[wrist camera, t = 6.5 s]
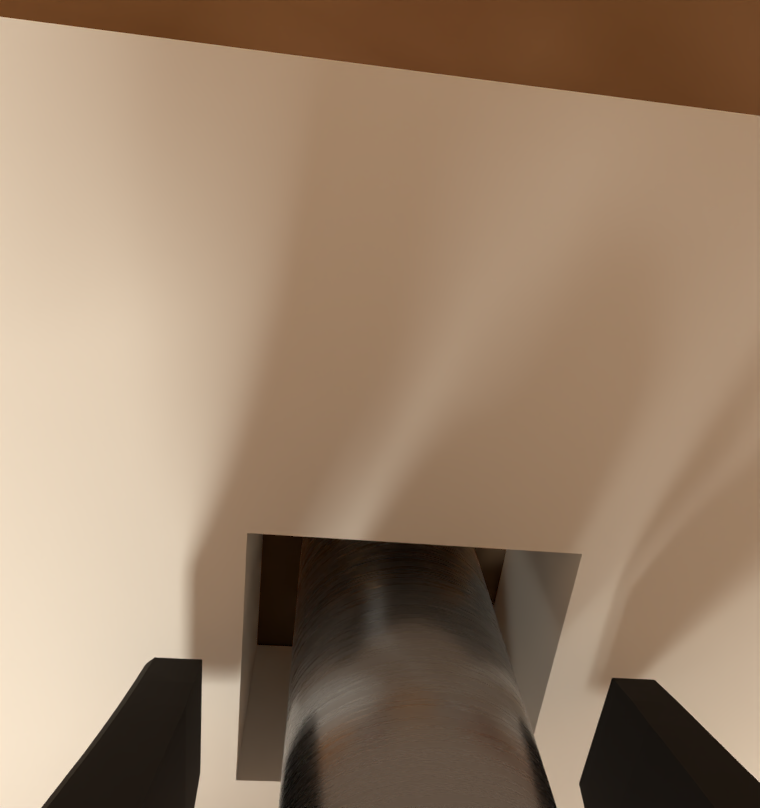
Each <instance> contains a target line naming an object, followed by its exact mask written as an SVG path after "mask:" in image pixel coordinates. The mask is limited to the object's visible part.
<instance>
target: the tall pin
mask: <svg viewBox="0 0 760 808" xmlns="http://www.w3.org/2000/svg"><path fill="white" fill-rule="evenodd" d="M279 808H557V807H556V803H555V800H554V797H553V794H552V791H551V788H550V785H549V781H548V778H547V775H546V772H545V769H544V766H543V763H542V759H541V756H540V753H539V750H538V747H537V744H536V741H535V737H534V734H533V731H532V728H531V725H530V722H529V718H528V715H527V712H526V709H525V706H524V703H523V700H522V696H521V693H520V690H519V687H518V684H517V681H516V678H515V674H514V671H513V668H512V665H511V662H510V659H509V656H508V652H507V649H506V646H505V643H504V640H503V637H502V634H501V630H500V627H499V624H498V621H497V618H496V615H495V612H494V608H493V605H492V602H491V599H490V596H489V593H488V589H487V586H486V583H485V580H484V577H483V574H482V571H481V567H480V564H479V561H478V558H477V555H476V552H475V549H474V547H463V546H447V545H431V544H415V543H399V542H383V541H367V540H351V539H335V538H319V537H303V540H302V546H301V557H300V569H299V580H298V591H297V603H296V614H295V626H294V637H293V648H292V660H291V671H290V683H289V694H288V706H287V717H286V728H285V740H284V751H283V763H282V774H281V785H280V797H279Z"/></svg>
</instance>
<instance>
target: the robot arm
mask: <svg viewBox="0 0 760 808" xmlns="http://www.w3.org/2000/svg"><path fill="white" fill-rule="evenodd" d="M201 706H202V659H179V658H157V657H154V658H153V659H152V660H150V661H149V662H148V663H146V664H145V666H144V667H143V669H142V670H141V672H140V674H139V675H138V677H137V678H136V680H135V681H134V683H133V685H132V686H131V687H130V689H129V690H128V692H127V693H126V695H125V696H124V698H123V699H122V701H121V702H120V704H119V705H118V707H117V708H116V710H115V711H114V712H113V714H112V715H111V717H110V718H109V719H108V721H107V722H106V724H105V725H104V726H103V728H102V729H101V730H100V732H99V733H98V735H97V736H96V737H95V739H94V740H93V741H92V743H91V744H90V745H89V747H88V748H87V750H86V751H85V752H84V753H83V755H82V756H81V757H80V759H79V760H78V761H77V762H76V764H75V765H74V766H73V768H72V769H71V770H70V771H69V773H68V774H67V775H66V777H65V778H64V779H63V780H62V782H61V783H60V784H59V786H58V787H57V788H56V789H55V791H54V792H53V793H52V794H51V796H50V797H49V798H48V800H47V801H46V802H45V803H44V805H43V806H42V807H41V808H194V807H195V801H196V795H197V790H198V784H199V778H200V766H201ZM579 786H580V791H581V795H582V799H583V804H584V808H760V782H759V781H758V780H757V779H756V778H755V777H754V776H753V775H752V774H750V773H749V772H748V771H747V770H746V769H745V768H744V767H743V766H742V765H741V764H740V763H739V762H738V761H737V760H736V759H735V758H734V757H733V756H732V755H731V754H730V753H729V752H728V751H727V750H726V749H725V748H724V747H723V746H722V745H721V744H720V743H719V742H718V741H717V740H716V739H715V738H714V737H713V736H712V735H711V734H710V733H709V732H708V731H707V730H706V729H705V728H704V727H703V726H702V725H701V724H700V723H699V722H698V721H697V720H696V719H695V718H694V717H693V716H692V715H691V714H690V713H689V712H688V711H687V710H686V709H685V708H684V707H683V706H682V705H681V704H680V703H679V702H678V701H677V700H676V699H674V698H673V697H672V696H671V695H670V694H669V693H668V692H667V691H666V690H665V689H664V688H663V687H662V686H661V685H660V684H659V683H658V682H656V681H655V680H651V679H629V678H612V680H611V683H610V686H609V689H608V692H607V696H606V699H605V702H604V705H603V708H602V712H601V715H600V718H599V721H598V724H597V727H596V731H595V734H594V737H593V740H592V743H591V747H590V750H589V753H588V756H587V759H586V763H585V766H584V769H583V772H582V775H581V778H580V782H579Z"/></svg>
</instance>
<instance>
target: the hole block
mask: <svg viewBox="0 0 760 808" xmlns="http://www.w3.org/2000/svg"><path fill="white" fill-rule="evenodd" d="M263 534H271V535H287V536H303V537H319V538H335V539H351V540H367V541H383V542H399V543H415V544H431V545H447V546H463V547H479V548H495V549H506V553H505V558H504V562H503V567H502V572H501V576H500V581H499V585H498V590H497V595H496V599H495V604H494V612H495V615H496V618H497V621H498V624H499V627H500V630H501V634H502V637H503V640H504V643H505V646H506V649H507V652H508V656H509V659H510V662H511V665H512V668H513V671H514V674H515V678H516V681H517V684H518V687H519V690H520V693H521V696H522V700H523V703H524V706H525V709H526V712H527V715H528V718H529V722H530V725H531V728H532V731H533V734H534V737H535V741H536V744H537V747H538V750H539V753H540V756H541V759H542V763H543V766H544V769H545V772H546V775H547V778H548V781H549V785H550V788H551V791H552V794H553V797H554V800H555V803H556V807H557V808H584V804H583V799H582V795H581V791H580V786H579V782H580V778H581V775H582V772H583V769H584V766H585V763H586V759H587V756H588V753H589V750H590V747H591V743H592V740H593V737H594V734H595V731H596V727H597V724H598V721H599V718H600V715H601V712H602V708H603V705H604V702H605V699H606V696H607V692H608V689H609V686H610V683H611V680H612V678H629V679H651V680H655V681H656V682H658V683H659V684H660V685H661V686H662V687H663V688H664V689H665V690H666V691H667V692H668V693H669V694H670V695H671V696H672V697H673V698H674V699H676V700H677V701H678V702H679V703H680V704H681V705H682V706H683V707H684V708H685V709H686V710H687V711H688V712H689V713H690V714H691V715H692V716H693V717H694V718H695V719H696V720H697V721H698V722H699V723H700V724H701V725H702V726H703V727H704V728H705V729H706V730H707V731H708V732H709V733H710V734H711V735H712V736H713V737H714V738H715V739H716V740H717V741H718V742H719V743H720V744H721V745H722V746H723V747H724V748H725V749H726V750H727V751H728V752H729V753H730V754H731V755H732V756H733V757H734V758H735V759H736V760H737V761H738V762H739V763H740V764H741V765H742V766H743V767H744V768H745V769H746V770H747V771H748V772H749V773H750V774H752V775H753V776H754V777H755V778H756V779H757V780H758V781H759V782H760V116H758V115H750V114H743V113H735V112H727V111H720V110H712V109H704V108H697V107H689V106H681V105H674V104H666V103H658V102H651V101H643V100H635V99H628V98H620V97H612V96H605V95H597V94H589V93H582V92H574V91H566V90H559V89H551V88H543V87H536V86H528V85H520V84H513V83H505V82H497V81H490V80H482V79H474V78H467V77H459V76H451V75H444V74H436V73H428V72H420V71H413V70H405V69H397V68H390V67H382V66H374V65H367V64H359V63H351V62H344V61H336V60H328V59H321V58H313V57H305V56H298V55H290V54H282V53H275V52H267V51H259V50H252V49H244V48H236V47H229V46H221V45H213V44H206V43H198V42H190V41H183V40H175V39H167V38H160V37H152V36H144V35H137V34H129V33H121V32H114V31H106V30H98V29H91V28H83V27H75V26H68V25H60V24H52V23H45V22H37V21H29V20H22V19H14V18H6V17H0V808H41V807H42V806H43V805H44V803H45V802H46V801H47V800H48V798H49V797H50V796H51V794H52V793H53V792H54V791H55V789H56V788H57V787H58V786H59V784H60V783H61V782H62V780H63V779H64V778H65V777H66V775H67V774H68V773H69V771H70V770H71V769H72V768H73V766H74V765H75V764H76V762H77V761H78V760H79V759H80V757H81V756H82V755H83V753H84V752H85V751H86V750H87V748H88V747H89V745H90V744H91V743H92V741H93V740H94V739H95V737H96V736H97V735H98V733H99V732H100V730H101V729H102V728H103V726H104V725H105V724H106V722H107V721H108V719H109V718H110V717H111V715H112V714H113V712H114V711H115V710H116V708H117V707H118V705H119V704H120V702H121V701H122V699H123V698H124V696H125V695H126V693H127V692H128V690H129V689H130V687H131V686H132V685H133V683H134V681H135V680H136V678H137V677H138V675H139V674H140V672H141V670H142V669H143V667H144V666H145V664H146V663H148V662H149V661H150V660H152V659H153V658H154V657H157V658H179V659H202V706H201V766H200V778H199V784H198V790H197V795H196V801H195V807H194V808H279V797H280V785H281V774H282V763H283V751H284V740H285V728H286V717H287V706H288V694H289V683H290V671H291V660H292V648H293V647H291V646H270V645H257V635H258V617H259V599H260V581H261V563H262V545H263Z"/></svg>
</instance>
